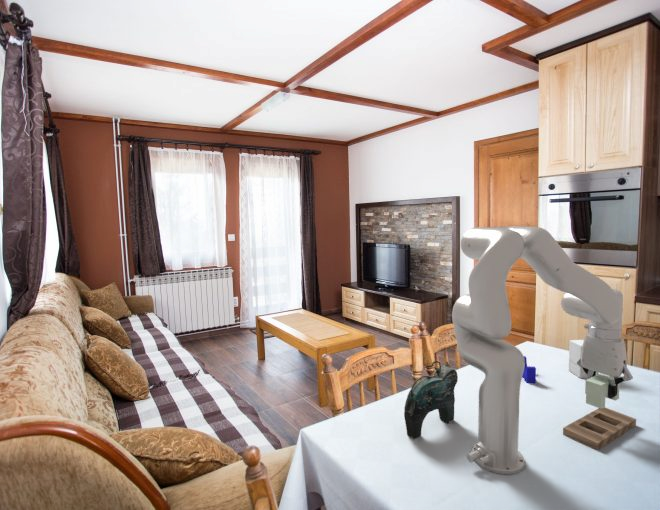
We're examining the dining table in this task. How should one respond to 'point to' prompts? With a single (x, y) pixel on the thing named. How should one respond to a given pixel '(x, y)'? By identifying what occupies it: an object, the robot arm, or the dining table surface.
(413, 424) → the green ceramic figurine
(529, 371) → the cable clip
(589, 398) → the tall sage green block
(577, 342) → the supplement box
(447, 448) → the dining table surface
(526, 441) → the dining table surface
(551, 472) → the dining table surface
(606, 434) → the brown wooden board
